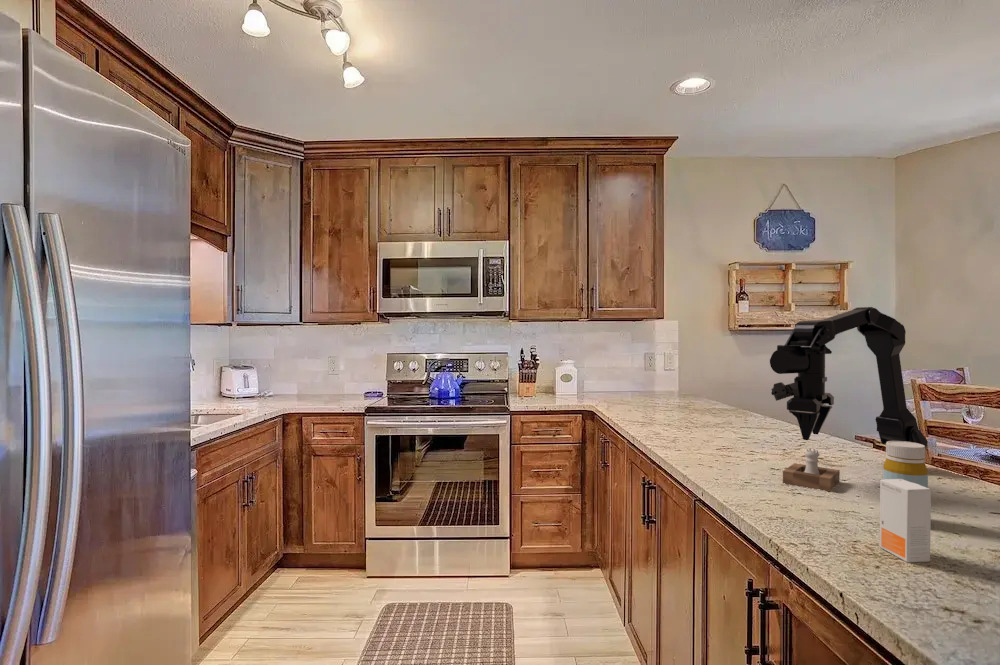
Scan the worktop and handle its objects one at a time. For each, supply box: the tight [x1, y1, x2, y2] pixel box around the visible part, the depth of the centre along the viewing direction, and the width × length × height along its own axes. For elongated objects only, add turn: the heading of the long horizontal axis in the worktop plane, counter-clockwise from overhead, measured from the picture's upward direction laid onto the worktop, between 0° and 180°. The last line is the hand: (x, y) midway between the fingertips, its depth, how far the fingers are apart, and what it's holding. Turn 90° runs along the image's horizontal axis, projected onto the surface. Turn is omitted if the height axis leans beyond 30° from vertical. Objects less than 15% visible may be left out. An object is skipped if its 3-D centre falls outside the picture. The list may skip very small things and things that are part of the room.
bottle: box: [882, 441, 929, 488], centre depth 107 cm, size 7×7×15 cm
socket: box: [782, 462, 841, 492], centre depth 132 cm, size 10×10×3 cm
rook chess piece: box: [804, 448, 820, 475], centre depth 133 cm, size 4×4×8 cm
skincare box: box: [878, 478, 932, 564], centre depth 91 cm, size 6×4×12 cm
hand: (810, 437), depth 132 cm, fingers open, 9 cm apart
